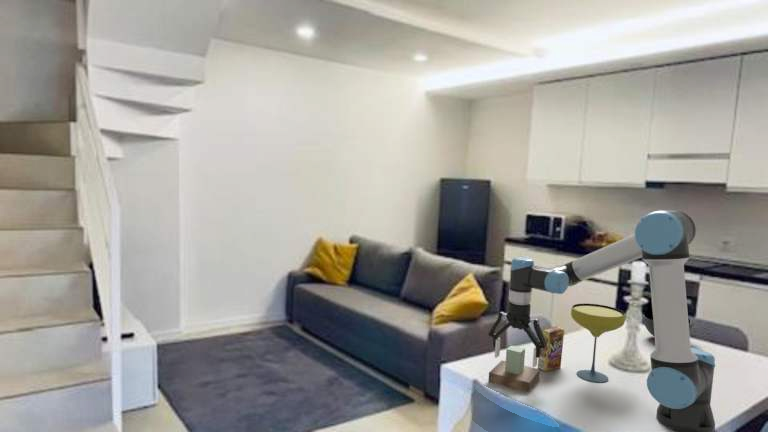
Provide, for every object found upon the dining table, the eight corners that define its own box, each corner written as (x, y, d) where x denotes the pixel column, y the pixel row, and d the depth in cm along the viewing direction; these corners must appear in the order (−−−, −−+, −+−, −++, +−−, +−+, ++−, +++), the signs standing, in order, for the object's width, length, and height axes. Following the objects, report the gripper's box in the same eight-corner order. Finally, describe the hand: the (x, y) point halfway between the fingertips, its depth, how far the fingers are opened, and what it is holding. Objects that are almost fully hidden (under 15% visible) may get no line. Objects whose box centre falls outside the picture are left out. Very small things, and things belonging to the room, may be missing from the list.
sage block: (523, 370, 178) (525, 348, 177) (518, 374, 174) (520, 352, 173) (510, 366, 181) (511, 345, 180) (505, 371, 177) (506, 349, 176)
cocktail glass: (629, 387, 176) (635, 318, 173) (579, 386, 175) (584, 316, 172) (604, 367, 194) (609, 304, 191) (558, 366, 193) (563, 302, 190)
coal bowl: (652, 330, 244) (655, 292, 242) (697, 342, 229) (702, 302, 227) (633, 338, 231) (637, 298, 229) (680, 351, 216) (684, 308, 214)
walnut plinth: (539, 380, 180) (539, 369, 180) (528, 394, 168) (529, 382, 168) (501, 370, 187) (501, 360, 187) (488, 383, 175) (489, 372, 175)
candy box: (546, 372, 186) (549, 332, 185) (537, 368, 190) (540, 328, 188) (561, 367, 191) (564, 328, 190) (552, 363, 195) (555, 325, 193)
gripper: (558, 306, 171) (554, 366, 173) (489, 294, 185) (486, 349, 187) (553, 311, 165) (548, 373, 167) (481, 297, 179) (478, 355, 181)
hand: (515, 361), depth 177 cm, fingers open, 13 cm apart
